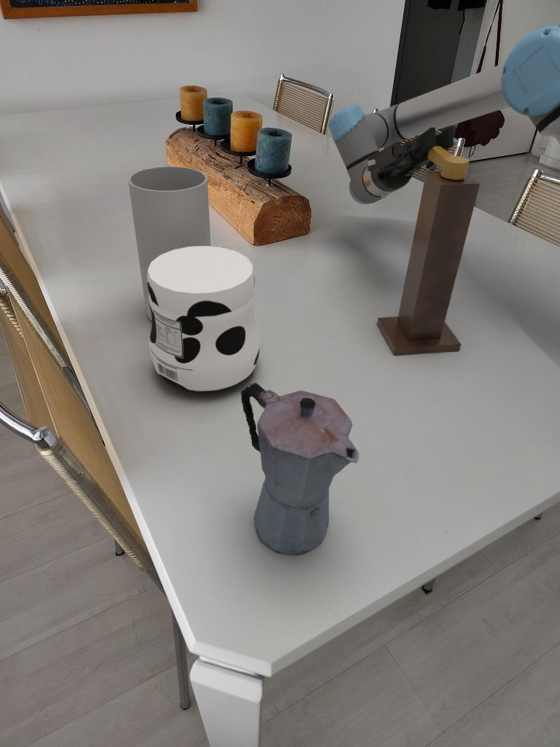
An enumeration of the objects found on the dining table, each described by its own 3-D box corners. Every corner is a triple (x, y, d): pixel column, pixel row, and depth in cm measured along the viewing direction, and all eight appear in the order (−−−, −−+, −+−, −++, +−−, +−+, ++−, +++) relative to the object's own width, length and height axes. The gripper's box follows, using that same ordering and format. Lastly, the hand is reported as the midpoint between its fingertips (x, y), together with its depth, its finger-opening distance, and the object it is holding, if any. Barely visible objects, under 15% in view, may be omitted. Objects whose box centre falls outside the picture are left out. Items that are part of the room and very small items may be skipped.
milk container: (258, 338, 96) (260, 243, 85) (260, 402, 82) (262, 298, 72) (160, 338, 95) (148, 241, 84) (145, 402, 81) (129, 297, 71)
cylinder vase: (137, 326, 98) (115, 187, 83) (158, 293, 108) (143, 163, 93) (204, 333, 97) (195, 194, 82) (220, 299, 107) (215, 169, 91)
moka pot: (318, 588, 58) (336, 459, 46) (213, 515, 66) (204, 386, 53) (363, 530, 65) (389, 402, 52) (262, 469, 72) (264, 344, 60)
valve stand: (437, 320, 103) (475, 166, 86) (459, 351, 95) (505, 187, 78) (376, 324, 101) (402, 167, 84) (393, 355, 93) (426, 189, 76)
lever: (429, 149, 92) (432, 134, 90) (469, 179, 80) (473, 162, 78) (408, 149, 91) (411, 134, 90) (446, 180, 79) (449, 163, 78)
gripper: (425, 191, 108) (488, 161, 85) (351, 193, 106) (395, 162, 83) (424, 152, 107) (488, 110, 84) (349, 153, 105) (394, 110, 81)
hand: (442, 136), depth 83 cm, fingers closed on lever, 2 cm apart
